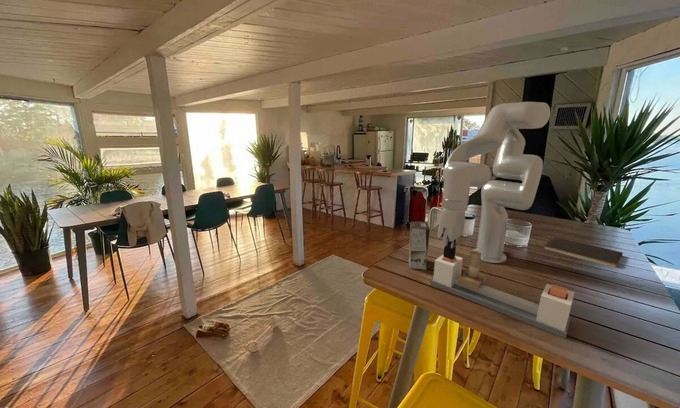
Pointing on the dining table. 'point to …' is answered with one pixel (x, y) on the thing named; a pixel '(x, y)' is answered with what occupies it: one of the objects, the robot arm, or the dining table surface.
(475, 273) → the carriage
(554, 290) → the block
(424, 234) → the coffee box
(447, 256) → the robot arm
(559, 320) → the rail base
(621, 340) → the dining table surface
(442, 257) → the block
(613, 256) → the hardcover book
